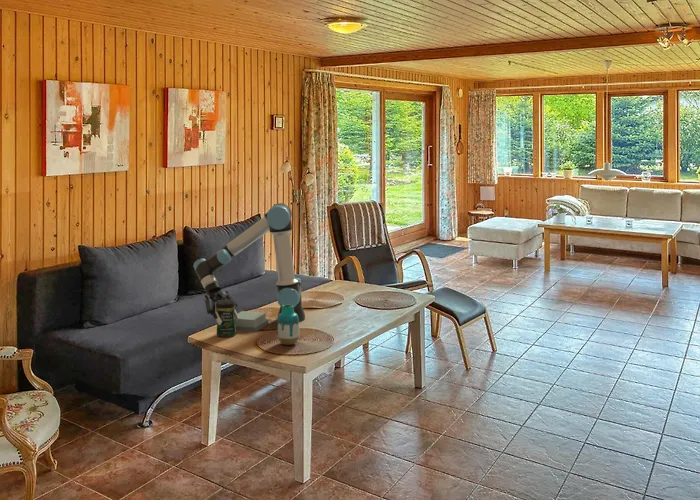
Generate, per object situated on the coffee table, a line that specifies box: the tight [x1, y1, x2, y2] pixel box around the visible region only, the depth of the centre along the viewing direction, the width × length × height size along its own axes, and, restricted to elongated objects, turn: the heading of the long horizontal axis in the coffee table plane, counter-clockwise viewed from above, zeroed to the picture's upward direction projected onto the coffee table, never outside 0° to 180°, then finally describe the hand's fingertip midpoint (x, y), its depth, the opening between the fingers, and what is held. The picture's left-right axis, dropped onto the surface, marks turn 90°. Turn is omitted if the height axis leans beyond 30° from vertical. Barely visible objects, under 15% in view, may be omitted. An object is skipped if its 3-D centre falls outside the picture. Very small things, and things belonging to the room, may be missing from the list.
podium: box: [234, 310, 269, 333], centre depth 341 cm, size 16×16×6 cm
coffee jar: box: [215, 298, 237, 338], centre depth 325 cm, size 10×8×19 cm
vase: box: [276, 304, 300, 346], centre depth 310 cm, size 11×11×19 cm
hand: (229, 321), depth 323 cm, fingers closed on coffee jar, 9 cm apart
